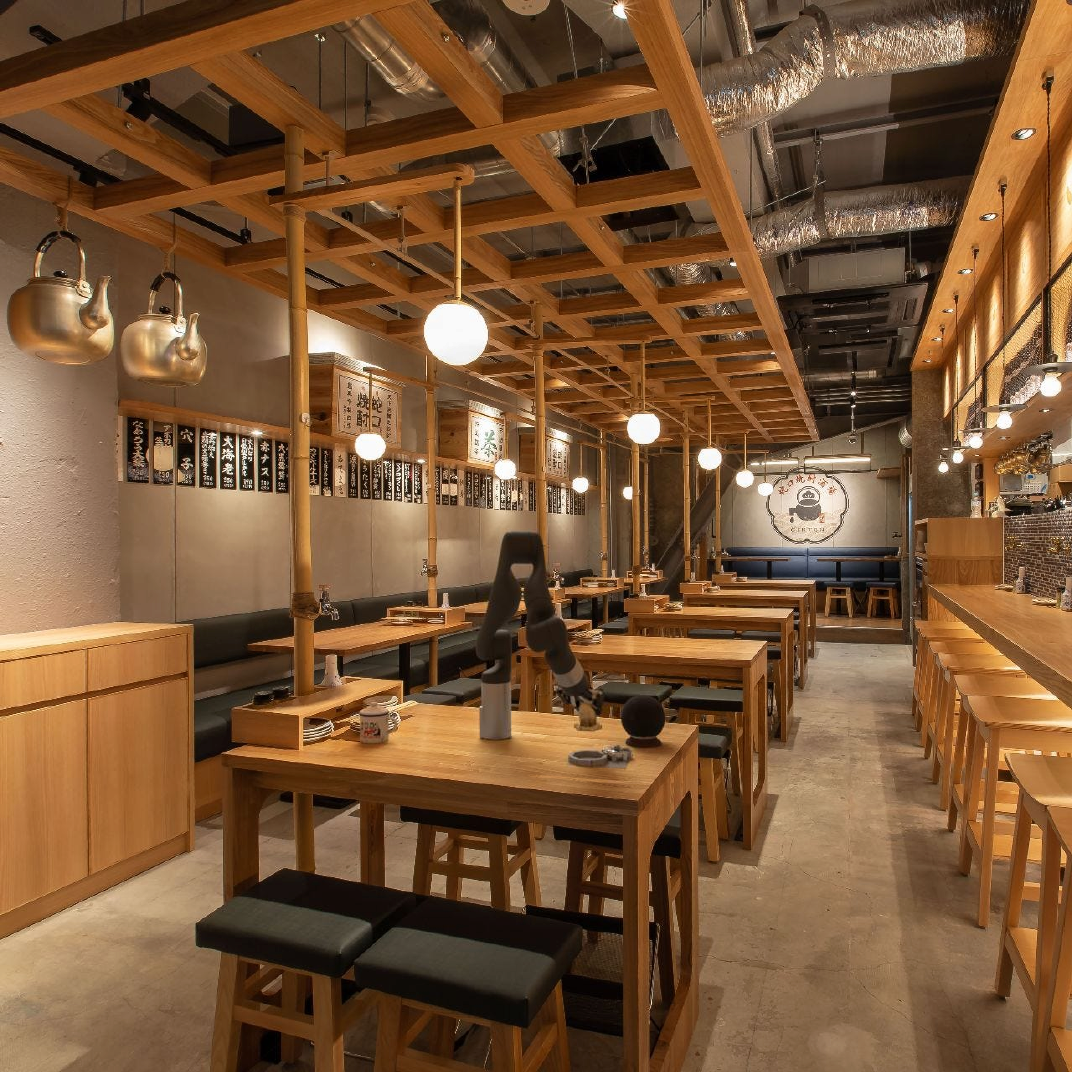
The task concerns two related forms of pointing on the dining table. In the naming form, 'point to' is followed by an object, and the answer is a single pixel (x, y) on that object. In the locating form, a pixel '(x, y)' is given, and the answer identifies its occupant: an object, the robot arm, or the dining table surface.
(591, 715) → the gear hub
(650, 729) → the black ball on stand
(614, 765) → the gear board
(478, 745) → the dining table surface
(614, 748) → the gear
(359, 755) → the dining table surface
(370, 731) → the teacup with lid
